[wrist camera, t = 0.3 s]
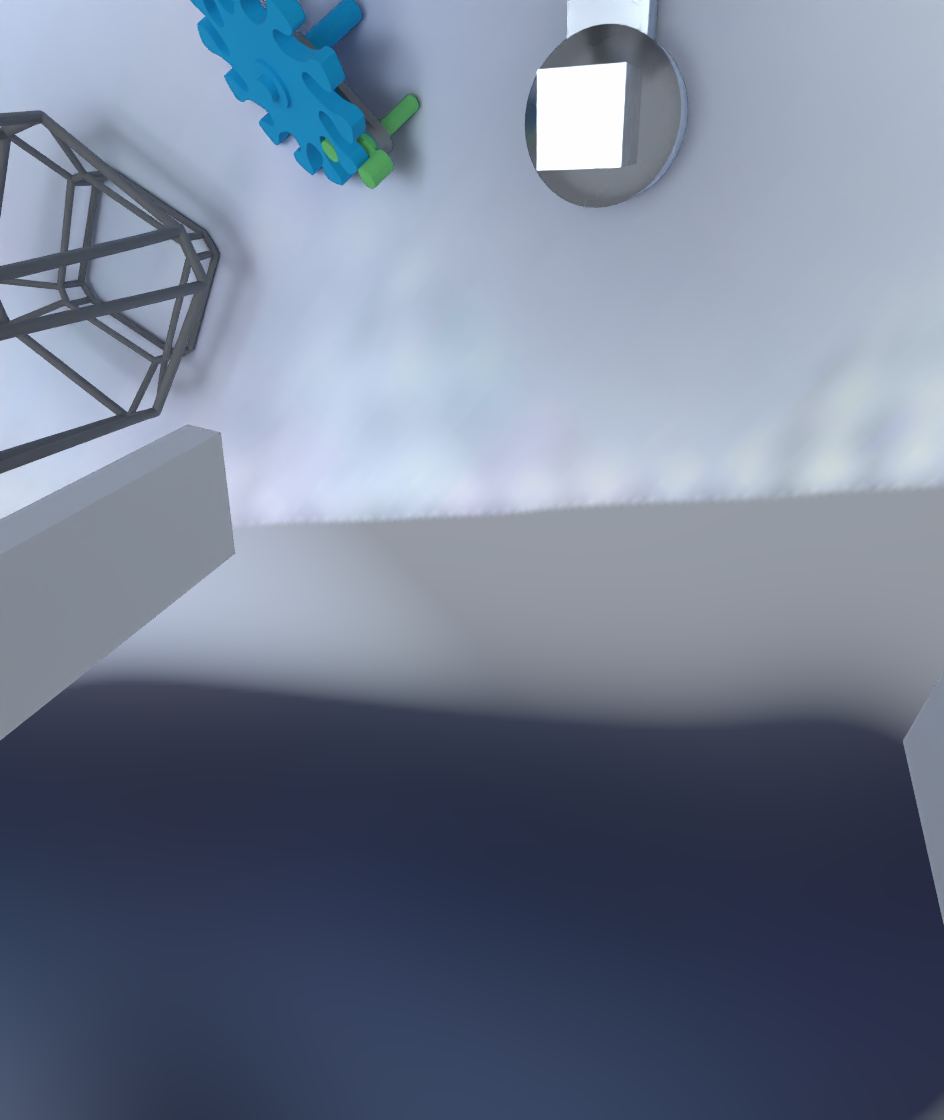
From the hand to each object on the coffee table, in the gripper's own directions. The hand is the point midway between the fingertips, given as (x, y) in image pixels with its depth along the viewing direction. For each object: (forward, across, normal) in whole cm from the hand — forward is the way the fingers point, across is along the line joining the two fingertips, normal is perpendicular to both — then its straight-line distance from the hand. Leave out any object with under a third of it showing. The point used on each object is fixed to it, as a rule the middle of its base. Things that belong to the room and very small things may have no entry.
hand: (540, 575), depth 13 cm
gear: (+27, -19, +7) cm, 34 cm away
